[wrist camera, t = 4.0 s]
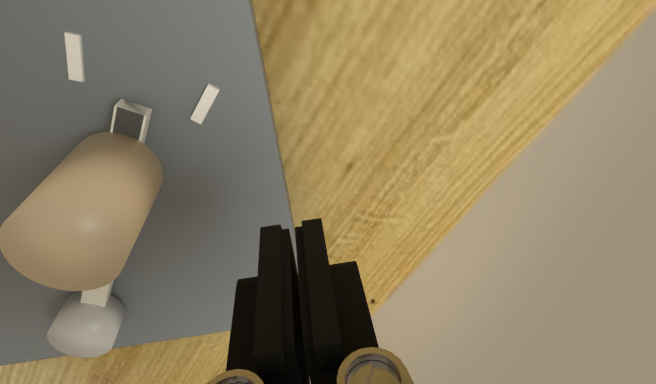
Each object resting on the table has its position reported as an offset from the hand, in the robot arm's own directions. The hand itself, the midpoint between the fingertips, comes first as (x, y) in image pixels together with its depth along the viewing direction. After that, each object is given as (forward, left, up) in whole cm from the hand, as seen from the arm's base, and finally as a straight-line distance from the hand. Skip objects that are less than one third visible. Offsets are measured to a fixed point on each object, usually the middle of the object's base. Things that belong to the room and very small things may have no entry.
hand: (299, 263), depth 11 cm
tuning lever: (+10, +4, -8) cm, 13 cm away
